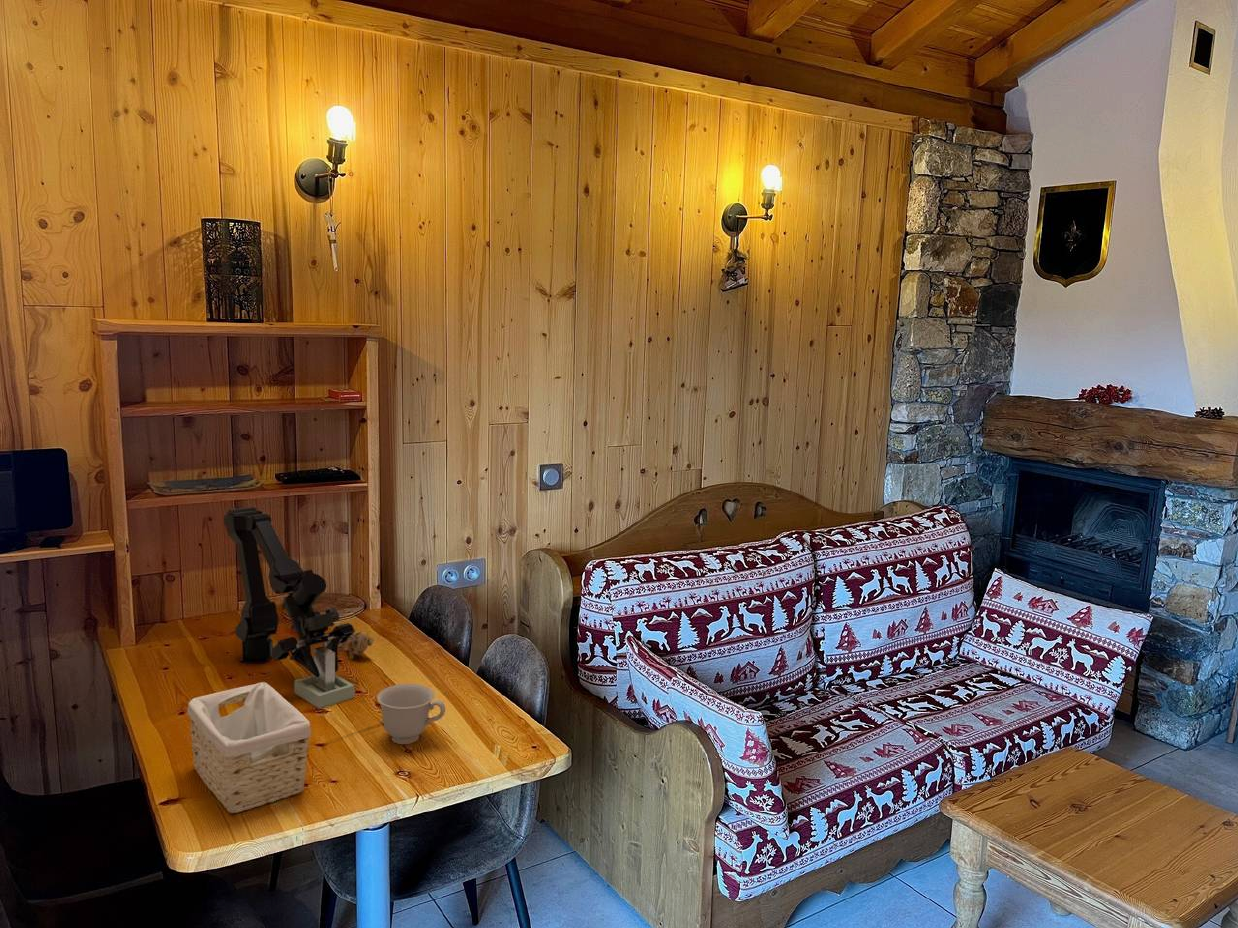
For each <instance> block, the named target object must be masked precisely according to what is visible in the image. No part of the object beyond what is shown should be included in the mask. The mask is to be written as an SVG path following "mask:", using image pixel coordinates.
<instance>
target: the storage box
mask: <svg viewBox="0 0 1238 928" xmlns="http://www.w3.org/2000/svg"><path fill="white" fill-rule="evenodd" d="M294 694H295V695H296V696H298V697H300V698H302V699H303V700H305V701H306V702H308V703H309V704H311V705H312V706H314V707H316V708H317V709H320V710H321V709H324V708H326V707H329V706H332V705H336V704H338V703H341V702H345V701H348V700H352V699H354V698H355V684H353V683H351V682H350V681H348V680H347V679H345V678H343V677H341V676H339V675H338V674H336V673H335V689H334V690H331V691H327V692H322V691H321V690H319V689H318V688H316V687H314V675H313V674H312V675H310V676H306V677H303V678H299V679H295V680H294Z"/></svg>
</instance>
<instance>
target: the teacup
mask: <svg viewBox="0 0 1238 928" xmlns="http://www.w3.org/2000/svg"><path fill="white" fill-rule="evenodd" d="M434 698H435V692H434V691H433V690H432V689H431V688H429V687H428V686H425V685H422V684H417V683H401V684H394V685H391V686H389V687H386V688H384V689H382V690H380V692H379V693H378V694H377V696H376V699H377V702H379V705H380V708H381V716H382V722H383V723H382V724H383V727H384V730H385V731H386V733H387V734H388V735H389V736H391V740H392V742H393V743H395V744H397V745H398V744H399V745H409V744H413V743H415V742H416V741H418V740H419V738H420V737H419V735H421V734H422V733H423V732H424V731H425V729H426V727H427V726H428V724H430V723H432V722H437V721H439V720H441V719H442V718H443V717H444V715H445V713H446V705H445V704H444V702H443V701H442V700H440V699H435V700H434ZM435 706H437V707H439V710H440V712H439V713H438V714H437V715H434V716H432V717H430V718H429V714H430V711H432V710H434V708H435Z"/></svg>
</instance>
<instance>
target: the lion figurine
mask: <svg viewBox="0 0 1238 928" xmlns="http://www.w3.org/2000/svg"><path fill="white" fill-rule="evenodd" d="M374 641H375V639H373V637H371V636H369V635H368V632H366V631H360V632H357V633H354V634H353V635H352V636H351V637H350V638H349V640H348V641H347V642H345V643H342V644H341V645H340V646H338V650H340V652H341V653H343V652H345V647H346V649H347V651H349V653H348V654H349V659H350V660H354V658H355V655H357V656H358V657H362V655H363V653H364V652H365V651H367V649H368V648H369V647H372V644H373V643H374ZM368 646H369V647H368Z"/></svg>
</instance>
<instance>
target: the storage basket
mask: <svg viewBox="0 0 1238 928" xmlns="http://www.w3.org/2000/svg"><path fill="white" fill-rule="evenodd" d="M242 702H244V704H243V705H242V706H240V707H238V708H237V709H235V710H233V711H232V712H230V714H227V715H224V716H221V714H220V710H219V709H220V707H226V706H228V705H234V704H237V703H242ZM186 710H187V711H186V713H187V715H188V716H189V719H190V724H189V725H190V739H191V742H192V743H191V750H192V758H193V761H192V762H193V766H194V770H196V772H197V774H198V775H199V777H200V778H201V779H202V782H203V783H204V784H205V786H206V787H207V788H208V789H209V790H210V791H211V792H212V793H213V795H214V796H216V798H217V800H218V801H219V803H221V804H222V805H223V807H224V808H225V809H226V810H227V812H228V813H230V814H235V813H240V812H243V811H248V810H251V809H253V808H254V809H255V808H256V807H261V806H264V805H266V804H268V803H270V802H271V803H274V801H275V802H276V800H277V801H279V800H281V799H286V798H288V797H289V798H290V796H293V795H296V794H300V793H301V792H303V790H304V789H305V781H306V780H305V779H306V773H307V757H308V749H309V742H310V738H311V736H312V731H311V722H310V721H309V719H307V718H306V717H305V715H303V713H301V712H300V711H299V710H298V709H297V708H296V707H294V705H292V703H290V702H289V701H288V700H287V699H286V698H284V696H283V695H281V693H279V692H278V691H277V690H275V688H274V687H272V686H271V685H269V684H268V683H267V682H265V681H262V682H258V683H255V684H254V683H253V684H250V685H244V686H241V687H234V688H231V689H227V690H223V691H218V692H214V693H211V694H206V695H201V696H197V697H194V698H192V699H191V700H190V701H189V702H188V707H187V709H186Z"/></svg>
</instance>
